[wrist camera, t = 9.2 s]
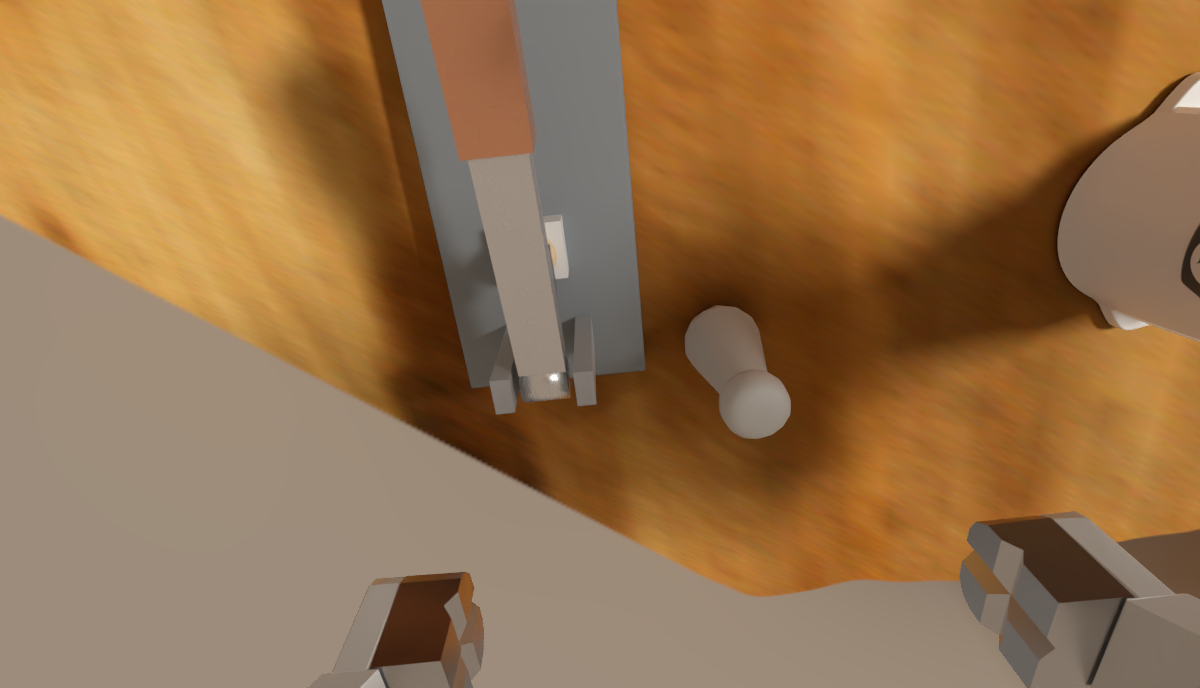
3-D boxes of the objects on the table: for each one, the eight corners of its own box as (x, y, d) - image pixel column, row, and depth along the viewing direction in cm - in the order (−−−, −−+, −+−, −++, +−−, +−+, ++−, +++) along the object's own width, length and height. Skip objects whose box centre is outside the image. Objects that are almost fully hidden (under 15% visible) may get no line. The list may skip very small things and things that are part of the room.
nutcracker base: (643, 359, 47) (658, 435, 37) (475, 376, 47) (446, 456, 37) (611, -45, 35) (621, -91, 25) (387, -18, 35) (309, -54, 25)
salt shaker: (750, 357, 47) (805, 451, 35) (681, 365, 47) (714, 461, 36) (751, 291, 45) (810, 369, 33) (678, 299, 45) (711, 379, 33)
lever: (575, 373, 40) (575, 407, 37) (524, 378, 40) (520, 412, 37) (503, -79, 25) (494, -80, 22) (421, -69, 25) (402, -69, 22)
